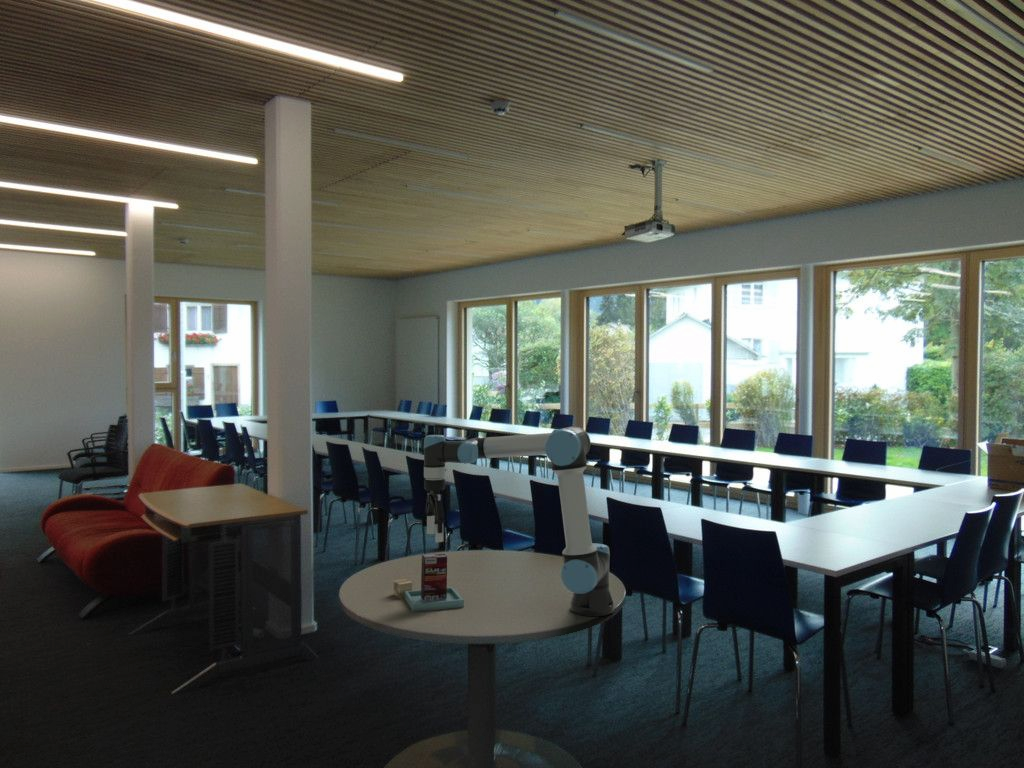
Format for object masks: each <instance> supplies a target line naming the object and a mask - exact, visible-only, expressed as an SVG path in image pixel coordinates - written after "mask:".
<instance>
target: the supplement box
mask: <svg viewBox="0 0 1024 768" xmlns="http://www.w3.org/2000/svg"><path fill="white" fill-rule="evenodd" d="M420 574H421V575H420V577H421V579H420V580H421V582H420V590H421V599H422V600H423V602H431V601H443V600H447V587H448V585H447V584H448V582H447V581H448V556H447V555H446V554H445V553H437V554H422V555H421V573H420Z"/></svg>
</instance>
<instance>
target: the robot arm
mask: <svg viewBox="0 0 1024 768" xmlns="http://www.w3.org/2000/svg"><path fill="white" fill-rule="evenodd" d="M445 437H446V436H445V435H442V434H429V435H425V437H424V439H423V461H424V463H423V478H424V481H423V490H425V491H426V492H427V493H426V494H427V495H426V502H425V511H424V512H425V514H426V535H433V534H435V535H434V536H435V538H434V539H435V541H434V542H435V543H442V542H443V543H444V523H445V522H446V517H445V509H444V501H443V500H444V499H443V498H444V496H443V494H441V492H440V491H443V490H444V491H445V489H446V479H445V477H446V472H447V468H446V463H452V464H453V463H456V464H465V465H467V464H474V463H475V462H476V461H477V460H479V459H480V460H481V459H482V460H483V459H492V458H508V457H509V458H511V457H512V458H513V457H529V456H531V457H532V456H545V455H546V457H547V459H548V460H549V461H550V464H551V471H552V472H553V473H555V474H556V475H557V483H558V484H557V485H558V490H559V499H560V505H561V506H560V507H561V514H562V515H561V516H562V523H563V524H562V525H563V532H564V539H565V540H564V541H565V548H564V549H563V550H562V552H561V553H562V561H563V566H562V568H561V573H560V577H561V581H562V584H563V585H564V586H565V588H566V589H568V591H570V592H572V597H571V600H570V604H569V606H570V611H571V612H573V613H575V614H578V615H581V616H585V617H586V616H587V617H603V616H608V615H610V614H613V613H614V611H615V604H614V600H613V597H612V594H611V590H610V557H611V553H610V547H609V546H608V545H606V544H603V543H597V542H596V543H593V541H592V534H591V527H590V518H589V509H588V502H587V496H586V493H587V492H586V486H585V479H584V478H585V477H584V471H585V470H586V469H587V467H588V465H587V456H586V455H588V454H589V451H590V448H591V438H590V435H589V434H588V432H587V431H586V430H585V429H584V428H581V427H578V426H575V425H573V426H568V427H563V428H558V429H553V430H552V432H547V433H533V434H532V433H531V434H518V435H503V436H488V437H472V438H470V439H465V440H459V441H449V440H446V438H445Z"/></svg>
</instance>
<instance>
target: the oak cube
mask: <svg viewBox="0 0 1024 768" xmlns="http://www.w3.org/2000/svg"><path fill="white" fill-rule="evenodd" d="M405 591H413V582H412V581H410V580H408V579H407V578H404V579H398V580H393V595H394V596H396V597H397V598H399V599H401V598H405Z"/></svg>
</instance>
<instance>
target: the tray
mask: <svg viewBox="0 0 1024 768" xmlns="http://www.w3.org/2000/svg"><path fill="white" fill-rule="evenodd" d="M404 599H405V601H406V602H407V604H408V605H409V607H410V609H411V610H412V612H413V613H415V612H424V611H426V612H427V611H436V610H445V609H456V608H464V607H465V600H464V598H463V596H461V594H460V593H459V592H458V591H457V590H456V589H455V588H454V587H453V586H449V587H448V586H447V600H443V601H431V602H423V600H422V599H421V589H416V590H415V589H414V590H413V589H412V591H405V597H404Z"/></svg>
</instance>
